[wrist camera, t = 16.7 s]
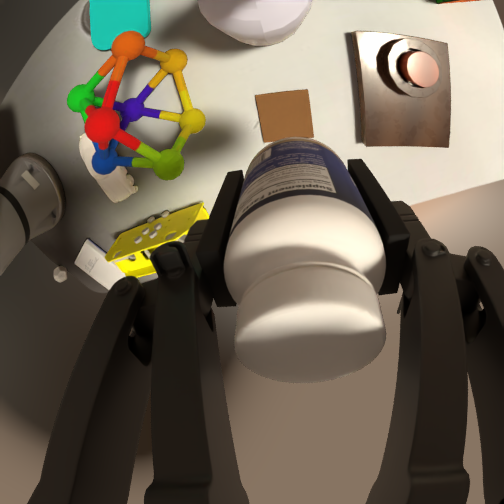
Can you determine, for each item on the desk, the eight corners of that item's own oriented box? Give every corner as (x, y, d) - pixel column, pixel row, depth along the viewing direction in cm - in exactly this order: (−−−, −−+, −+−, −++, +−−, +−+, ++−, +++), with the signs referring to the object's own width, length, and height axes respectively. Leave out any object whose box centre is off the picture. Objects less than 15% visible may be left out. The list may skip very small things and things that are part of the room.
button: (400, 83, 22) (408, 85, 20) (397, 49, 19) (405, 49, 18) (430, 86, 21) (439, 89, 19) (428, 53, 18) (437, 54, 17)
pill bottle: (351, 217, 15) (396, 379, 8) (261, 232, 16) (242, 395, 9) (339, 125, 12) (431, 261, 4) (232, 147, 13) (166, 300, 6)
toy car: (119, 200, 38) (109, 212, 36) (79, 138, 32) (65, 146, 29) (141, 187, 37) (131, 199, 34) (99, 120, 30) (85, 128, 27)
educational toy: (102, 88, 28) (18, 107, 15) (181, 34, 24) (109, 12, 11) (150, 180, 35) (87, 237, 23) (234, 140, 31) (195, 183, 19)
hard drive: (123, 294, 53) (77, 259, 48) (140, 276, 49) (88, 237, 44) (120, 299, 51) (73, 264, 46) (136, 282, 47) (84, 242, 42)
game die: (55, 264, 50) (48, 273, 47) (63, 262, 49) (56, 271, 47) (63, 276, 52) (57, 285, 50) (72, 274, 51) (66, 283, 49)
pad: (264, 142, 31) (263, 142, 31) (255, 95, 28) (255, 95, 28) (313, 136, 30) (313, 137, 30) (307, 89, 27) (307, 89, 26)
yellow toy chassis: (203, 196, 37) (186, 231, 31) (220, 228, 40) (208, 267, 34) (121, 228, 42) (97, 261, 35) (139, 254, 45) (120, 288, 38)
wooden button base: (361, 141, 30) (371, 152, 27) (350, 32, 21) (360, 28, 18) (441, 142, 28) (456, 153, 25) (439, 43, 19) (456, 43, 16)
